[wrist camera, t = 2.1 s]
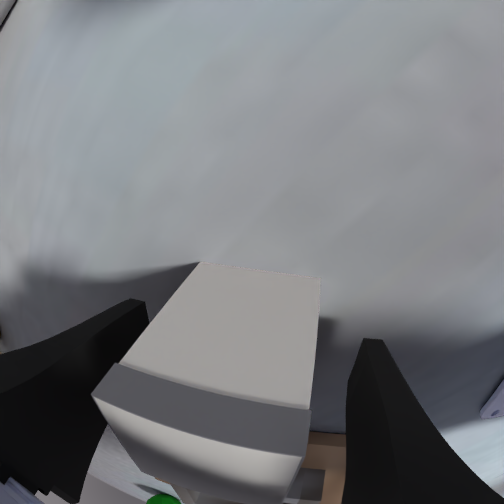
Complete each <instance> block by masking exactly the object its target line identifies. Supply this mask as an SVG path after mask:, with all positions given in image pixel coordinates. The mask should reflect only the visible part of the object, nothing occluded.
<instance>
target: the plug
mask: <svg viewBox="0 0 504 504" xmlns="http://www.w3.org/2000/svg"><path fill="white" fill-rule="evenodd" d="M320 288H321V278H316V277H308V276H301V275H293V274H285V273H278V272H270V271H263V270H256V269H248V268H241V267H234V266H227V265H220V264H213V263H206V262H200V263H199V264H198V265H197V266H196V267H195V269H194V270H193V271H192V272H191V273H190V275H189V276H188V277H187V278H186V280H185V281H184V282H183V283H182V284H181V286H180V287H179V288H178V289H177V291H176V292H175V293H174V294H173V295H172V297H171V298H170V299H169V300H168V302H167V303H166V304H165V305H164V307H163V308H162V309H161V310H160V312H159V313H158V314H157V315H156V316H155V318H154V319H153V320H152V322H151V323H150V324H149V325H148V327H147V328H146V329H145V330H144V332H143V333H142V334H141V335H140V337H139V338H138V339H137V340H136V342H135V343H134V344H133V346H132V347H131V348H130V349H129V351H128V352H127V353H126V355H125V356H124V357H123V358H122V360H121V361H120V362H119V364H118V363H114V365H113V366H112V367H111V369H110V370H109V371H108V372H107V374H106V375H105V376H104V378H103V379H102V380H101V382H100V383H99V384H98V385H97V387H96V388H95V389H94V391H93V392H92V393H91V395H92V397H93V399H94V401H95V403H96V404H97V406H98V408H99V409H100V411H101V413H102V415H103V416H104V418H105V419H106V421H107V423H108V424H109V426H110V427H111V429H112V431H113V432H114V434H115V435H116V437H117V438H118V440H119V441H120V443H121V444H122V446H123V447H124V448H125V450H126V451H127V453H128V454H129V456H130V457H131V458H132V460H133V461H134V462H135V464H136V465H137V466H138V468H139V469H140V470H141V472H144V473H146V474H149V475H151V476H154V477H156V478H159V479H161V480H164V481H167V482H169V483H172V484H175V485H178V486H181V487H184V488H187V489H190V490H193V491H197V492H200V493H203V494H207V495H211V496H214V497H218V498H222V499H226V500H230V501H235V502H239V503H244V504H283V502H284V500H285V498H286V496H287V494H288V492H289V490H290V488H291V486H292V484H293V482H294V480H295V478H296V476H297V474H298V471H299V469H300V467H301V465H302V463H303V461H304V458H305V456H306V449H307V443H308V436H309V429H310V422H311V414H312V410H309V406H310V398H311V390H312V382H313V373H314V363H315V353H316V343H317V331H318V318H319V304H320Z"/></svg>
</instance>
